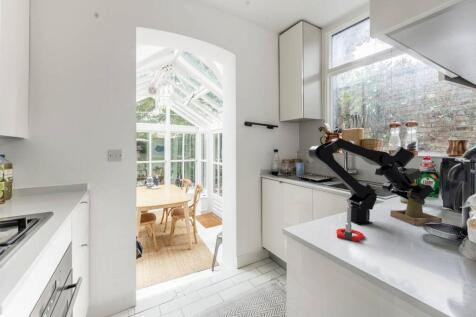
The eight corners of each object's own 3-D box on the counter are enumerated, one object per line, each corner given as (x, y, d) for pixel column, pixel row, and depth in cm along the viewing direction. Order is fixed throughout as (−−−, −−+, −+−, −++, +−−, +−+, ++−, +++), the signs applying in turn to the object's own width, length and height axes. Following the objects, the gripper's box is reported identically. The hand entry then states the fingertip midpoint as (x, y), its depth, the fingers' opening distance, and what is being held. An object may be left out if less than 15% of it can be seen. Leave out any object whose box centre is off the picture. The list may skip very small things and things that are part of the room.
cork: (416, 220, 83) (417, 193, 82) (401, 216, 89) (402, 190, 88) (427, 219, 84) (428, 192, 84) (411, 214, 90) (412, 189, 90)
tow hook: (338, 229, 78) (333, 237, 70) (339, 195, 78) (335, 199, 70) (364, 235, 73) (362, 243, 66) (365, 198, 73) (364, 202, 65)
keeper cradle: (414, 225, 80) (414, 219, 80) (390, 216, 92) (390, 210, 92) (441, 224, 81) (442, 218, 81) (414, 215, 93) (414, 209, 93)
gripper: (430, 163, 76) (456, 193, 77) (389, 160, 95) (410, 184, 96) (409, 184, 76) (435, 214, 77) (372, 177, 94) (394, 201, 96)
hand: (417, 202), depth 86 cm, fingers closed on cork, 5 cm apart
